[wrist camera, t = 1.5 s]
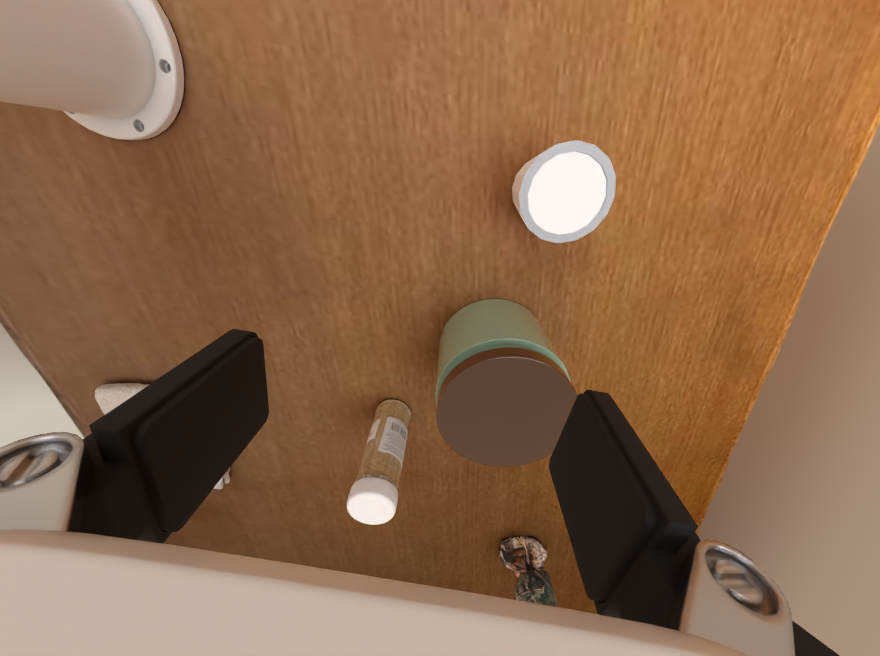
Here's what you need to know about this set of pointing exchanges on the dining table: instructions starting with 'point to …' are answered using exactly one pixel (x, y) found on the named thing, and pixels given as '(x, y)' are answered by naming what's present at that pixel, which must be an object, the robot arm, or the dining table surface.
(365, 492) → the sprinkles bottle
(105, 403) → the washcloth
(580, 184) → the white tapered cup
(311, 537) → the dining table surface
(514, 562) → the plant with pod
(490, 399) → the jar
